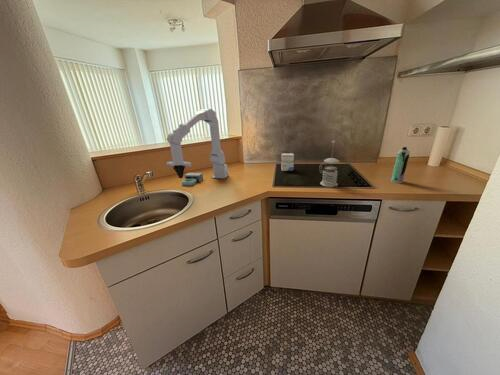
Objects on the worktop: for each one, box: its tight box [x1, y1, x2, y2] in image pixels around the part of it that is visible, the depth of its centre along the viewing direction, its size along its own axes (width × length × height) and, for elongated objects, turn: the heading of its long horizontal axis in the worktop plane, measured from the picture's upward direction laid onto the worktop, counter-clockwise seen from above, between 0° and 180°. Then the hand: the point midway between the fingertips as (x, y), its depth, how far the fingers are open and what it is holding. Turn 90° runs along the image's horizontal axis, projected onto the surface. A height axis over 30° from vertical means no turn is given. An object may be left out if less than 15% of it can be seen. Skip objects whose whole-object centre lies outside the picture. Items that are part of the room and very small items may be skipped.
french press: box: [319, 140, 340, 188], centre depth 115 cm, size 10×12×25 cm
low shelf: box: [184, 172, 204, 183], centre depth 133 cm, size 10×5×4 cm, turn 77°
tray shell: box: [181, 178, 198, 187], centre depth 128 cm, size 7×6×2 cm
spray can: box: [390, 146, 411, 184], centre depth 114 cm, size 6×6×20 cm
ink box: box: [280, 153, 295, 172], centre depth 145 cm, size 8×5×12 cm, turn 84°
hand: (181, 177), depth 119 cm, fingers closed
